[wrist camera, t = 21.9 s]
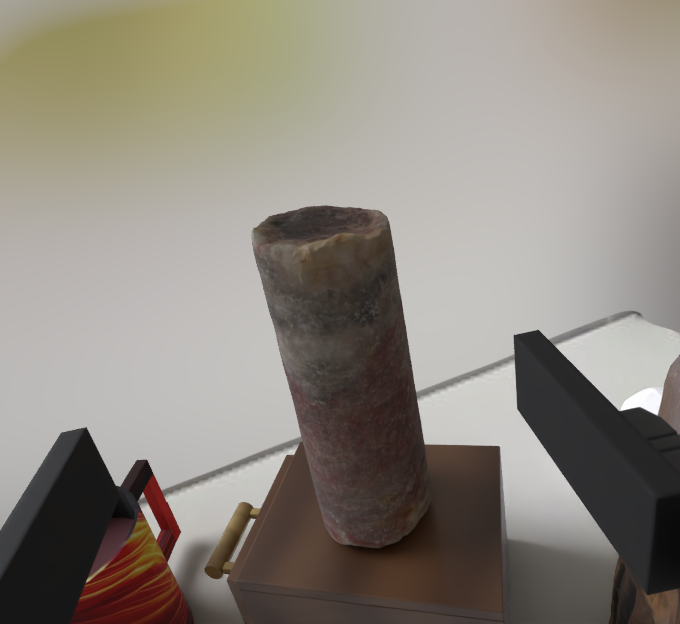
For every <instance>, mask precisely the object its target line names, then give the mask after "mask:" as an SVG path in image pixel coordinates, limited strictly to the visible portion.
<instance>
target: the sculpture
mask: <svg viewBox="0 0 680 624" xmlns="http://www.w3.org/2000/svg"><path fill="white" fill-rule="evenodd" d="M657 416H660V417H661V418H663V419H664V420H665V421H666V422H667V423H668V424H669V425H670V426H671V427H672V428H673V429H675V430H676V431H677V434H678V435H680V355H679V356H678V358H677V359H676V360H675V361H674V362H673V364H672V365H671V366H670V369H669V371H668V374H667V377H666V380H665V383H664V388H663V394H662V399H661V404H660V408H659V412H658V415H657ZM613 581H614V584H613V592H612V603H611V616H610V620H609V624H680V588H679V589H674V590H670V591H665V592H660V593H656V594H651V595H646V593H645V592H644V590H643V589H642V587H641V586H640V585H639V583H638V582H637V580H636V579H635V577H634V576H633V574H632V573H631V572H630V570H629V569H628V567H627V566H626V564H625V563H624V561H623V560H622V559H621V557H620V556H619V558H618V562H617V566H616V570H615V575H614V580H613Z"/></svg>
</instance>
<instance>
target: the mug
mask: <svg viewBox="0 0 680 624" xmlns="http://www.w3.org/2000/svg"><path fill="white" fill-rule="evenodd" d="M116 487H117V489H118V491H119V493H120V497H119V499H118V502H117V504H116V507H115V510H114V512H113V515H112V517H111V520H110V522H109V525H108V527H107V530H106V533H105V535H104V538H103V540H102V543H101V545H100V548H99V550H98V553H97V556H96V558H95V561H94V563H93V566H92V568H91V571H90V573H89V576H88V579H87V581H86V584H85V586H84V589H83V591H82V594H81V597H80V599H79V602H78V604H77V607H76V609H75V612H74V614H73V617H72V620H71V622H70V624H194V620H193V616H192V612H191V610H190V608H189V606H188V604H187V602H186V600H185V598H184V596H183V594H182V592H181V590H180V588H179V586H178V583H177V581H176V579H175V577H174V575H173V573H172V571H171V569H170V567H169V565H168V563H167V562H168V560H169V558H170V555H171V553H172V550H173V548H174V546H175V543H176V541H177V539H178V537H179V535H180V533H181V531H180V529H179V526H178V524H177V522H176V520H175V518H174V515H173V513H172V511H171V509H170V507H169V505H168V502H166V500H165V498H164V496H163V493H162V491H161V489H160V487H159V485H158V483H157V481H156V478H155V476H154V475H153V472H152V469H151V467H150V465H149V463H148V461H147V460H137V461H136V462H135V464H134V465H133V467H132V468H131V470H130V472H129V474H128V475H127V477H126V478H125V480H124V482H123V483H122V485H121V486H120V487H119V486H116ZM142 493H144V495H145V497H146V499H147V501H148V503H149V506H150V508H151V510H152V512H153V514H154V516H155V518H156V520H157V522H158V524H159V526H160V528H161V532H160V534H159V536H158V538H157V540H156V539H155V537H154V535H153V533H152V531H151V529H150V527H149V524H148V522H147V520H146V518H145V516H144V514H143V512H142V510H141V508H140V506H139V504H138V500H139V498H140V496H141V494H142Z"/></svg>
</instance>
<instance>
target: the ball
mask: <svg viewBox="0 0 680 624" xmlns="http://www.w3.org/2000/svg"><path fill="white" fill-rule="evenodd" d="M663 388H664V386H661V387H652V388H645V389H643V390H642V391H640V392H638V393H637V394H635V395H633V396H631V397H630V398H628V399H626V400H625V402H624V404H623V406H622V408H621V410H620V411H622V410H627V409H631V408H636V407H641V408H643V409H645V410H647V411H649V412H651V413H653V414H655V415H658V412H659V408H660V404H661V399H662V394H663Z"/></svg>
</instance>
